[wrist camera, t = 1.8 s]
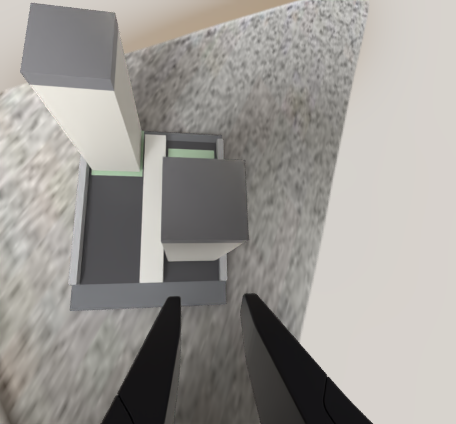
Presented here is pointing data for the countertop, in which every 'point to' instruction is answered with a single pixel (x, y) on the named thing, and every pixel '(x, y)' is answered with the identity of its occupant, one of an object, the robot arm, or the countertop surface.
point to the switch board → (137, 234)
